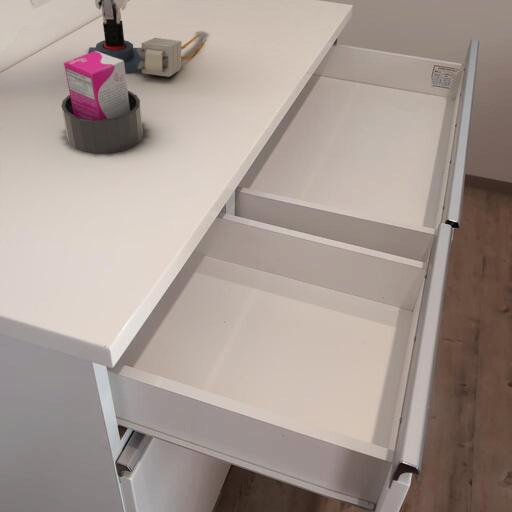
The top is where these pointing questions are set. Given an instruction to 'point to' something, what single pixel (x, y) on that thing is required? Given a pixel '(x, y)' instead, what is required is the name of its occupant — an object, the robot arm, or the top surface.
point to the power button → (114, 47)
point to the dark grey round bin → (104, 129)
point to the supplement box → (97, 86)
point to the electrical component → (162, 56)
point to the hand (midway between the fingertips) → (115, 44)
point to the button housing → (122, 55)
